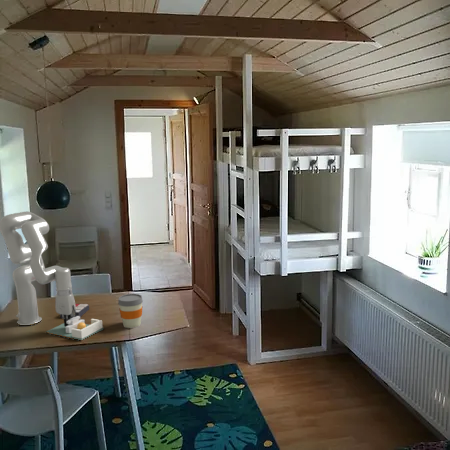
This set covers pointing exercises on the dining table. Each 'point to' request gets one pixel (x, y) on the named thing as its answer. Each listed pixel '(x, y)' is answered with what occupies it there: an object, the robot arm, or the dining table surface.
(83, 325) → the ball
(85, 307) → the calculator
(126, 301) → the reusable coffee cup
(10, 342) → the dining table surface
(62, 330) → the pitch
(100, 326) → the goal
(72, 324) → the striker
